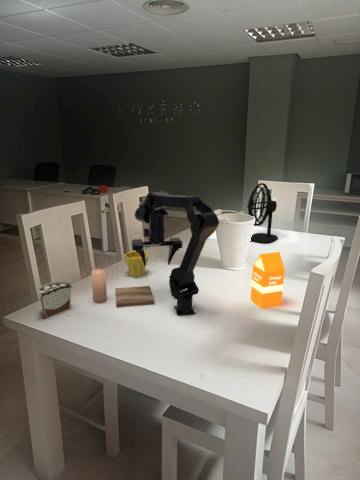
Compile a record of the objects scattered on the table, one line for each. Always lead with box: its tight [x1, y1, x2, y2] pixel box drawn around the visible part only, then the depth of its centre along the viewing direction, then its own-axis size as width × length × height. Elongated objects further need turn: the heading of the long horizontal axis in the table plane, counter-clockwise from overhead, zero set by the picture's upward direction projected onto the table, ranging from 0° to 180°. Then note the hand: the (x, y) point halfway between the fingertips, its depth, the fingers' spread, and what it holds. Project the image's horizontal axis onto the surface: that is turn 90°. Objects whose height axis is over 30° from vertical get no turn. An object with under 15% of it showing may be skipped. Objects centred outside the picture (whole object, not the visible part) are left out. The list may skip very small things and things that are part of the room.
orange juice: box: [250, 251, 285, 309], centre depth 129 cm, size 8×9×20 cm
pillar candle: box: [90, 268, 108, 304], centre depth 131 cm, size 5×5×12 cm
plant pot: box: [124, 250, 149, 278], centre depth 157 cm, size 10×10×10 cm
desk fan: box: [246, 182, 279, 244], centre depth 215 cm, size 27×18×35 cm, turn 143°
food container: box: [37, 280, 73, 320], centre depth 122 cm, size 12×6×10 cm, turn 141°
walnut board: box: [114, 285, 155, 308], centre depth 135 cm, size 14×14×2 cm
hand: (156, 265), depth 133 cm, fingers open, 9 cm apart
